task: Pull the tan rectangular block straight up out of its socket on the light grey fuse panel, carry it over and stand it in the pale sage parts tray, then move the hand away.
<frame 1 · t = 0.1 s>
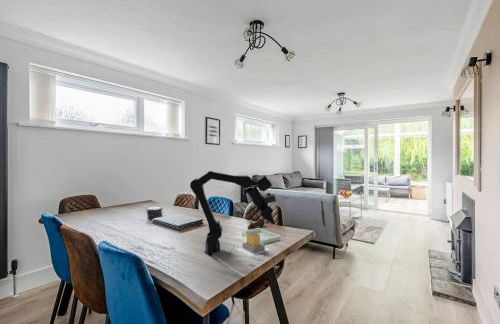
hand: (272, 221, 132), 15 cm above the table, tool tilted 30°, fingers open, 9 cm apart
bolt: (255, 228, 172), on the table
tan rectangular block: (253, 249, 130), point 1 cm above the table, touching fuse panel
fuse panel: (253, 251, 130), on the table
parts tray: (260, 238, 150), on the table
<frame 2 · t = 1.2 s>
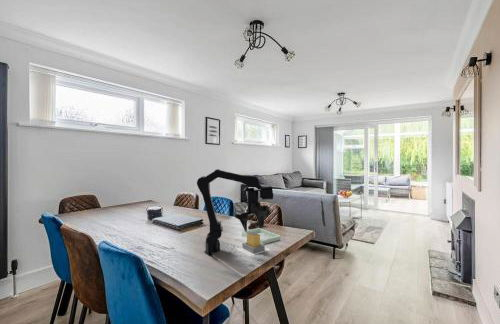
hand: (253, 229, 130), 11 cm above the table, tool pointing down, fingers open, 9 cm apart
nothing on the table moved.
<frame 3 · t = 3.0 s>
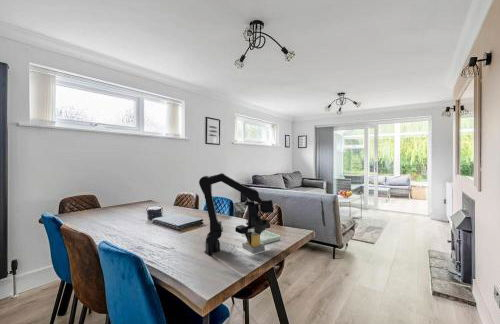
hand: (253, 243, 130), 4 cm above the table, tool pointing down, fingers closed on tan rectangular block, 4 cm apart
tan rectangular block: (253, 249, 130), point 1 cm above the table, touching fuse panel, gripper
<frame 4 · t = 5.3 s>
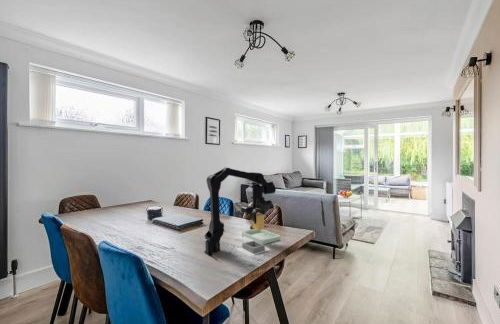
hand: (258, 222, 141), 12 cm above the table, tool pointing down, fingers closed on tan rectangular block, 4 cm apart
tan rectangular block: (258, 228, 141), point 9 cm above the table, touching gripper
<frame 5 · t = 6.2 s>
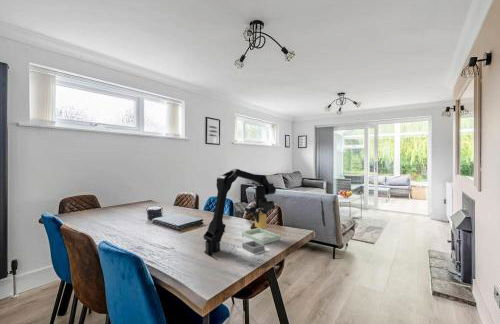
hand: (260, 222, 149), 10 cm above the table, tool pointing down, fingers closed on tan rectangular block, 4 cm apart
tan rectangular block: (260, 227, 149), point 7 cm above the table, touching gripper
when the fingers open (5 cm above the table, at t = 7.7 s): tan rectangular block drops 2 cm, resting on parts tray.
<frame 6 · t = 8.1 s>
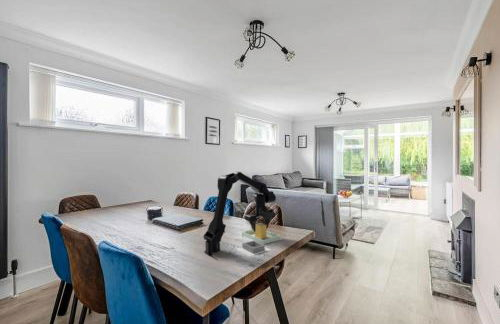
hand: (260, 230, 150), 5 cm above the table, tool pointing down, fingers open, 9 cm apart
tan rectangular block: (260, 237, 150), point 1 cm above the table, touching parts tray
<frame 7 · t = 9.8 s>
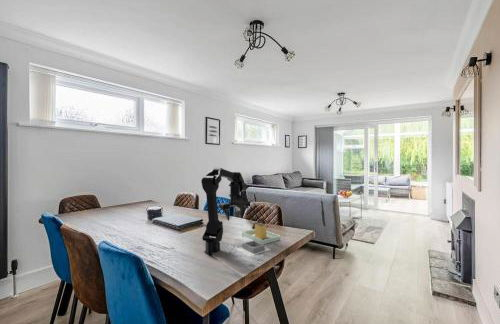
hand: (235, 219, 150), 12 cm above the table, tool pointing down, fingers open, 9 cm apart
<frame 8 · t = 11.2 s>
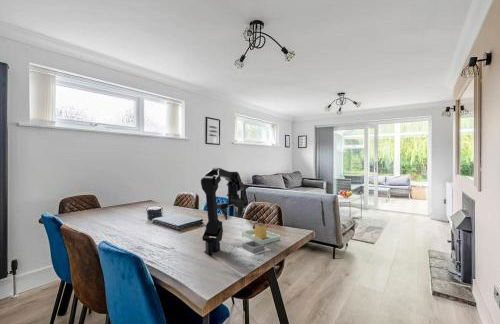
hand: (233, 218, 150), 12 cm above the table, tool pointing down, fingers open, 9 cm apart
at the end: tan rectangular block inside the target area on the parts tray (0.1 cm from its centre), point 0.6 cm above the parts tray's base; the gripper is holding nothing; tan rectangular block touching parts tray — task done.
